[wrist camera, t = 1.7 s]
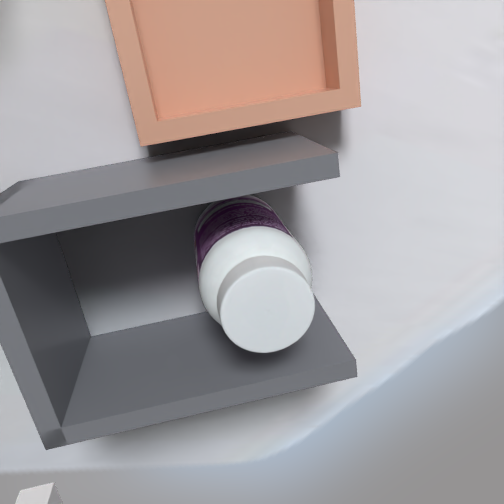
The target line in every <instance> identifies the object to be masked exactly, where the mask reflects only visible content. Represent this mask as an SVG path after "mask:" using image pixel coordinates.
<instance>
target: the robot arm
mask: <svg viewBox="0 0 504 504" xmlns="http://www.w3.org/2000/svg"><path fill="white" fill-rule="evenodd" d="M15 504H63V502H62V500H61V498H60V495H59V493H58V491H57V488H56V486H55V484H54V483H49V484H45V485H41V486H36V487H32V488H28V489H24V490H20V492H19V495H18V498H17V500H16V503H15Z"/></svg>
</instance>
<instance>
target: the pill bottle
mask: <svg viewBox="0 0 504 504" xmlns="http://www.w3.org/2000/svg"><path fill="white" fill-rule="evenodd" d="M194 249H195V260H196V268H197V275H198V284H199V291H200V295H201V299H202V302H203V304H204V306H205V308H206V310H207V311H208V313H209V314H210V315H211V316H212V317H213V319H214V320H215V321H217V322H218V323H219V324H220V325H222V327H223V330H224V332H225V333H226V335H227V336H228V337H229V339H230V340H231V341H232V342H234V343H235V344H236V345H238V346H239V347H241V348H243V349H245V350H248V351H252V352H258V353H268V352H275V351H279V350H281V349H284V348H286V347H288V346H290V345H292V344H293V343H295V342H296V341H298V340H299V339H300V338H301V337H302V336H303V335H304V334H305V332H306V331H307V329H308V328H309V326H310V324H311V322H312V319H313V316H314V312H315V300H314V295H313V292H312V289H311V288H312V270H311V265H310V262H309V259H308V257H307V255H306V253H305V251H304V250H303V248H302V247H301V246H300V244H299V243H298V242H297V240H296V239H295V238H294V237H293V235H292V234H291V233H290V231H289V230H288V229H287V228H286V226H285V225H284V224H283V222H282V221H281V219H280V218H279V217H278V215H277V214H276V213H275V211H274V210H273V209H272V207H271V206H269V205H268V204H267V203H266V202H265V201H263V200H261V199H260V198H257V197H255V196H252V195H244V196H239V197H234V198H229V199H224V200H219V201H214V202H213V203H211V204H210V205H209V206H208V207H207V208H206V209H205V210H204V211H203V212H202V214H201V215H200V217H199V219H198V221H197V223H196V226H195V230H194Z"/></svg>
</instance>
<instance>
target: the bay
mask: <svg viewBox="0 0 504 504" xmlns="http://www.w3.org/2000/svg"><path fill="white" fill-rule="evenodd" d="M337 177H340V173H339V162H338V152H336V151H333V150H331V149H329V148H327V147H325V146H322V145H320V144H318V143H316V142H314V141H312V140H309V139H307V138H305V137H303V136H301V135H298V134H296V133H294V132H292V131H289V132H284V133H279V134H273V135H268V136H262V137H257V138H252V139H246V140H241V141H235V142H230V143H225V144H219V145H214V146H208V147H203V148H197V149H192V150H187V151H181V152H176V153H170V154H165V155H160V156H154V157H149V158H143V159H138V160H132V161H127V162H122V163H116V164H111V165H105V166H100V167H95V168H89V169H84V170H78V171H73V172H68V173H62V174H57V175H51V176H46V177H40V178H35V179H30V180H24V181H19V182H17V183H15V184H14V185H12V186H11V187H9V188H8V189H6V190H5V191H3V192H2V193H0V343H1V346H2V348H3V350H4V353H5V355H6V358H7V360H8V362H9V365H10V367H11V369H12V372H13V374H14V376H15V379H16V381H17V383H18V386H19V388H20V390H21V393H22V395H23V398H24V400H25V402H26V405H27V407H28V409H29V412H30V414H31V416H32V419H33V421H34V423H35V426H36V428H37V430H38V433H39V435H40V438H41V440H42V442H43V445H44V447H45V449H46V450H48V449H52V448H56V447H61V446H65V445H69V444H73V443H78V442H82V441H86V440H90V439H95V438H99V437H103V436H107V435H112V434H116V433H120V432H124V431H129V430H133V429H137V428H141V427H146V426H150V425H154V424H158V423H163V422H167V421H171V420H175V419H180V418H184V417H188V416H192V415H197V414H201V413H205V412H209V411H214V410H218V409H222V408H226V407H231V406H235V405H239V404H243V403H248V402H252V401H256V400H261V399H265V398H269V397H273V396H278V395H282V394H286V393H290V392H295V391H299V390H303V389H307V388H312V387H316V386H320V385H324V384H329V383H333V382H337V381H341V380H346V379H350V378H354V377H357V367H356V359H355V358H354V356H353V354H352V353H351V351H350V350H349V348H348V347H347V345H346V344H345V342H344V340H343V339H342V337H341V336H340V334H339V333H338V331H337V330H336V328H335V326H334V325H333V323H332V322H331V320H330V319H329V317H328V315H327V314H326V312H325V311H324V309H323V308H322V306H321V305H320V303H319V301H318V300H317V298H316V297H315V295H314V294H313V295H314V300H315V312H314V316H313V319H312V322H311V324H310V326H309V328H308V329H307V331H306V332H305V334H304V335H303V336H302V337H301V338H300V339H299V340H298V341H296V342H295V343H293V344H292V345H290V346H288V347H286V348H284V349H281V350H279V351H275V352H268V353H258V352H252V351H248V350H245V349H243V348H241V347H239V346H238V345H236V344H235V343H234V342H232V341H231V340H230V339H229V337H228V336H227V335H226V333H225V332H224V330H223V327H222V325H220V324H219V323H218V322H217V321H215V320H214V319H213V317H212V316H211V315H210V314H209V313H208V312H203V313H199V314H194V315H189V316H185V317H180V318H176V319H171V320H166V321H162V322H157V323H152V324H148V325H143V326H139V327H134V328H129V329H125V330H120V331H115V332H111V333H106V334H101V335H97V336H92V337H91V336H90V333H89V330H88V327H87V324H86V321H85V318H84V315H83V312H82V309H81V306H80V303H79V300H78V297H77V294H76V291H75V288H74V285H73V283H72V280H71V277H70V274H69V271H68V268H67V265H66V262H65V259H64V256H63V253H62V250H61V247H60V244H59V241H58V238H57V235H56V232H60V231H65V230H70V229H75V228H81V227H86V226H91V225H96V224H101V223H106V222H111V221H116V220H122V219H127V218H132V217H137V216H142V215H147V214H152V213H157V212H162V211H168V210H173V209H178V208H183V207H188V206H193V205H198V204H203V203H209V202H214V201H219V200H224V199H229V198H234V197H239V196H244V195H250V194H255V193H260V192H265V191H270V190H275V189H280V188H285V187H290V186H296V185H301V184H306V183H311V182H316V181H321V180H326V179H331V178H337Z"/></svg>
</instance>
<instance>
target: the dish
mask: <svg viewBox="0 0 504 504" xmlns="http://www.w3.org/2000/svg"><path fill="white" fill-rule="evenodd" d="M105 3H106V7H107V11H108V15H109V19H110V23H111V27H112V31H113V35H114V39H115V43H116V47H117V52H118V56H119V60H120V64H121V68H122V72H123V76H124V80H125V84H126V88H127V92H128V96H129V100H130V105H131V109H132V113H133V117H134V121H135V125H136V129H137V133H138V137H139V141H140V145H141V147H142V146H147V145H153V144H158V143H164V142H169V141H175V140H180V139H185V138H191V137H196V136H202V135H207V134H213V133H218V132H224V131H229V130H235V129H240V128H246V127H251V126H257V125H262V124H268V123H273V122H279V121H284V120H290V119H295V118H301V117H306V116H312V115H317V114H323V113H328V112H333V111H339V110H344V109H350V108H355V107H361V97H360V82H359V67H358V52H357V37H356V22H355V7H354V0H105Z"/></svg>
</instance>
